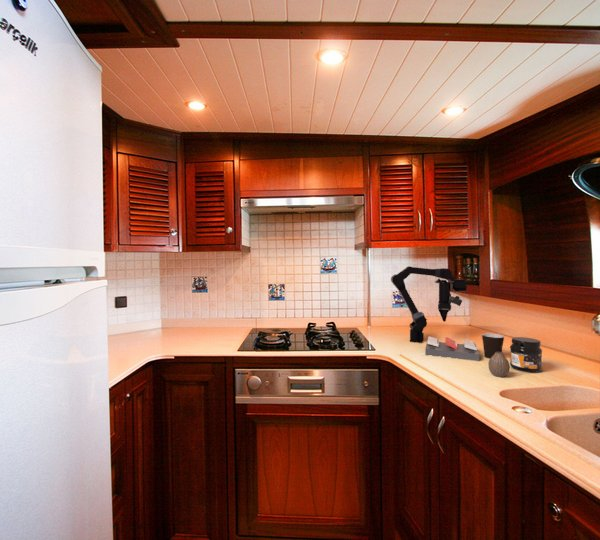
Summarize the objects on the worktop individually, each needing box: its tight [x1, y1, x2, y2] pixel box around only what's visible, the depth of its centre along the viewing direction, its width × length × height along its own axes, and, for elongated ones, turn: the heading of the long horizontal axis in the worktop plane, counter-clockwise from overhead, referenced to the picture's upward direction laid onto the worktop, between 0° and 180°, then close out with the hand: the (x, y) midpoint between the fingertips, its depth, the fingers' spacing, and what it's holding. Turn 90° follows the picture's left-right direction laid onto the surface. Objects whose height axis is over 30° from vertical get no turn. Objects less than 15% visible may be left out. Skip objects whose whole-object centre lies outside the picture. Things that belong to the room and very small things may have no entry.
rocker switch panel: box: [424, 341, 480, 362], centre depth 150 cm, size 22×16×3 cm
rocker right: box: [462, 339, 478, 351], centre depth 148 cm, size 5×11×1 cm, turn 156°
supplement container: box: [509, 336, 543, 374], centre depth 128 cm, size 10×10×12 cm
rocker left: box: [426, 336, 440, 347], centre depth 155 cm, size 5×11×1 cm, turn 156°
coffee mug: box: [481, 332, 505, 360], centre depth 144 cm, size 12×9×10 cm
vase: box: [488, 352, 511, 378], centre depth 120 cm, size 7×7×9 cm
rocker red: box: [444, 337, 458, 349], centre depth 152 cm, size 5×11×1 cm, turn 156°
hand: (444, 320), depth 171 cm, fingers open, 9 cm apart
